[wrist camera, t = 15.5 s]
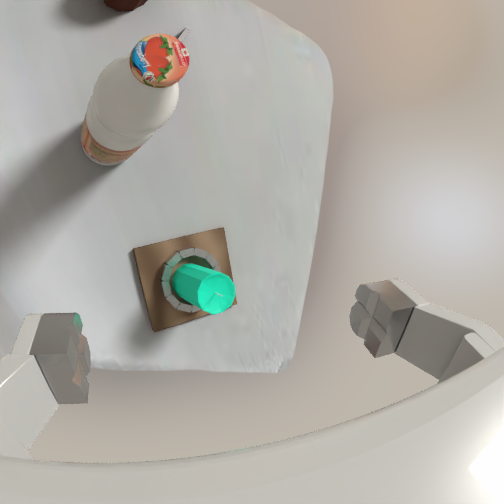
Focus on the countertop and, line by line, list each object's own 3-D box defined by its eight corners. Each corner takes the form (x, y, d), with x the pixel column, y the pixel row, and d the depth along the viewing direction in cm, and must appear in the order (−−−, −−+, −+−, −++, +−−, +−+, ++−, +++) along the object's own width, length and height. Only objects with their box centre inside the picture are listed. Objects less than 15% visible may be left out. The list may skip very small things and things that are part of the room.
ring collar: (167, 317, 52) (170, 319, 51) (153, 256, 50) (156, 257, 48) (221, 299, 57) (226, 301, 56) (211, 241, 55) (215, 242, 54)
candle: (166, 271, 51) (195, 284, 41) (199, 257, 54) (234, 267, 44) (178, 304, 53) (209, 324, 43) (209, 290, 56) (246, 306, 46)
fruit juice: (72, 122, 41) (92, 24, 18) (126, 102, 45) (195, 6, 22) (91, 176, 44) (124, 125, 21) (145, 153, 48) (230, 94, 25)
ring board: (153, 330, 52) (154, 332, 51) (133, 248, 49) (134, 249, 48) (234, 302, 60) (237, 303, 59) (221, 227, 57) (223, 227, 56)
